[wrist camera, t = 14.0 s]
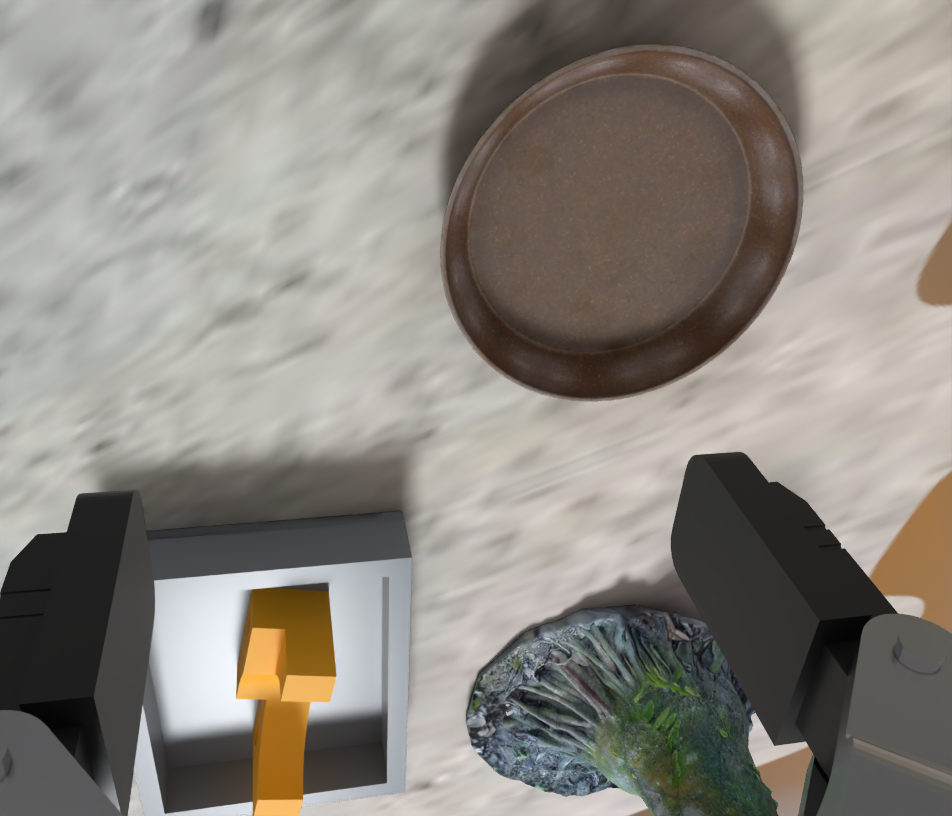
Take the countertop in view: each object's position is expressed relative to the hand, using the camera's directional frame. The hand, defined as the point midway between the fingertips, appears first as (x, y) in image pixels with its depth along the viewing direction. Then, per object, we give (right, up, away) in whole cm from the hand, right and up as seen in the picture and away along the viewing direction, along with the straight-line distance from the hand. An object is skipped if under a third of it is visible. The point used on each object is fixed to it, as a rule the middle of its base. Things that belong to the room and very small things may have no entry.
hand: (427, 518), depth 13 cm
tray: (-12, -13, +42) cm, 46 cm away
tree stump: (+10, -18, +51) cm, 55 cm away
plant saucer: (+7, +11, +32) cm, 34 cm away
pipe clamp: (-12, -14, +42) cm, 45 cm away
